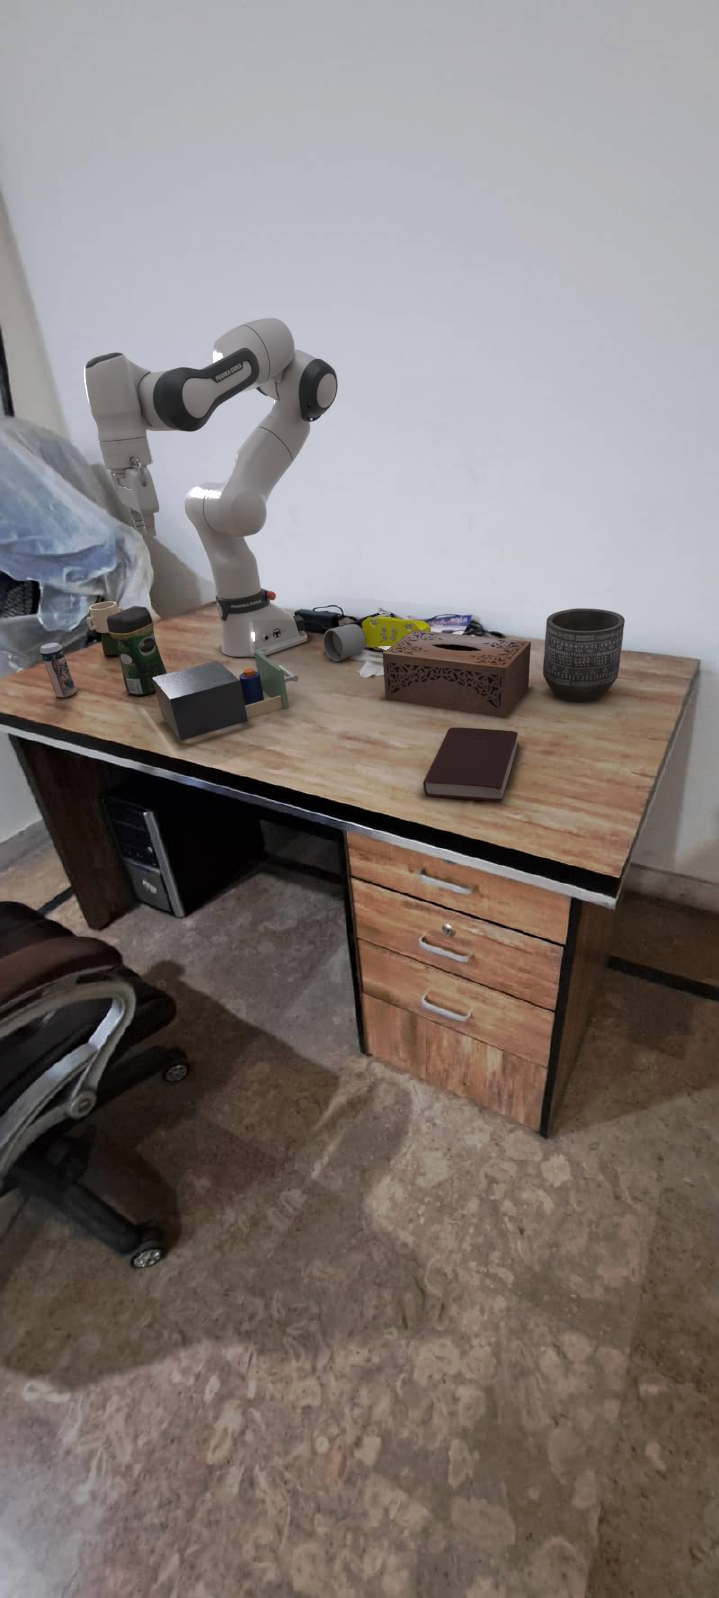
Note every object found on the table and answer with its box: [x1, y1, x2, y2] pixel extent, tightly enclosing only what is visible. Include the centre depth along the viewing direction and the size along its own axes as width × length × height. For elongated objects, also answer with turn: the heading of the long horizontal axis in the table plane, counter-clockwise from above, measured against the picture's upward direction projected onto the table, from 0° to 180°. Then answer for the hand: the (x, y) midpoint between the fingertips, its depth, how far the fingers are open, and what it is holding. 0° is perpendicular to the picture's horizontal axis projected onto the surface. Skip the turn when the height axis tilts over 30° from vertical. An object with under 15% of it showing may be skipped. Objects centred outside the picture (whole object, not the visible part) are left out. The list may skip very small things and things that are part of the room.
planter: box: [542, 607, 626, 703], centre depth 131 cm, size 14×14×15 cm
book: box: [422, 726, 519, 802], centre depth 112 cm, size 12×19×3 cm, turn 161°
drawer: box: [245, 651, 300, 719], centre depth 139 cm, size 18×14×9 cm
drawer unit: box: [152, 660, 249, 742], centre depth 135 cm, size 14×14×10 cm
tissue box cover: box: [381, 630, 532, 718], centre depth 137 cm, size 26×14×10 cm, turn 60°
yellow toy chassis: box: [361, 615, 432, 652], centre depth 162 cm, size 16×6×8 cm, turn 58°
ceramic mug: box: [322, 624, 366, 662], centre depth 162 cm, size 11×8×8 cm
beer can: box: [39, 641, 77, 698], centre depth 155 cm, size 5×5×12 cm
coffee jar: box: [107, 605, 168, 697], centre depth 152 cm, size 10×8×19 cm
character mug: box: [85, 601, 125, 656], centre depth 176 cm, size 11×7×13 cm, turn 141°
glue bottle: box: [238, 667, 264, 706], centre depth 139 cm, size 4×4×7 cm
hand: (146, 532), depth 135 cm, fingers open, 8 cm apart
